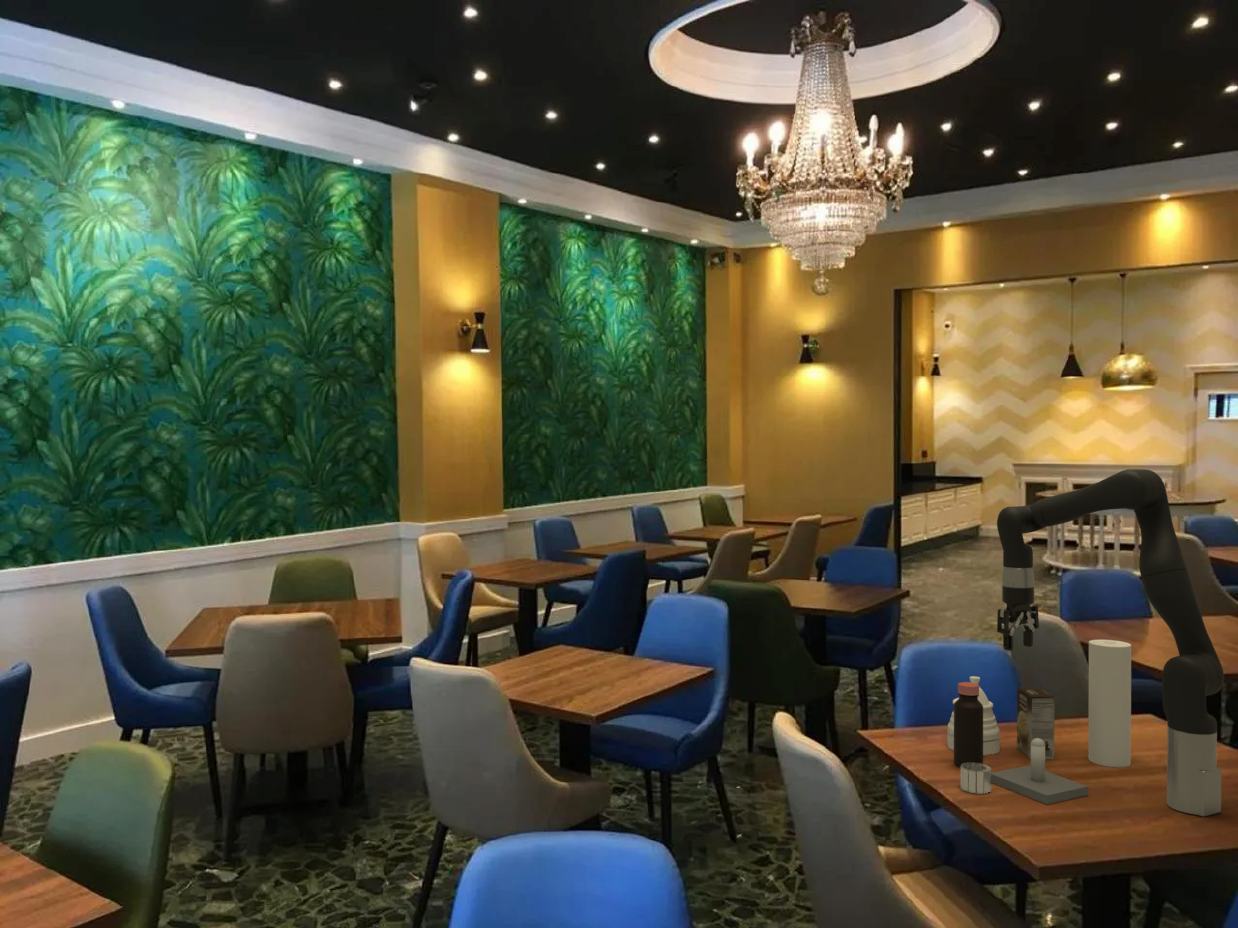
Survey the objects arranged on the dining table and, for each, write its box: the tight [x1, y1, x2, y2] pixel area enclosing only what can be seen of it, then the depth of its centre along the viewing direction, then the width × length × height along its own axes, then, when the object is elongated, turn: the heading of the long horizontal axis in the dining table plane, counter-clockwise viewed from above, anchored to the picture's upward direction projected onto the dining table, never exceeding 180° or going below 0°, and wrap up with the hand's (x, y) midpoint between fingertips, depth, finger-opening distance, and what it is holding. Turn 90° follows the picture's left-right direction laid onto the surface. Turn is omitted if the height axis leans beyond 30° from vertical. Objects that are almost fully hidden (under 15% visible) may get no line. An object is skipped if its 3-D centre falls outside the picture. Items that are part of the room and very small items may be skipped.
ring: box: [960, 763, 992, 795], centre depth 218 cm, size 6×6×5 cm
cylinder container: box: [1087, 639, 1132, 768], centre depth 238 cm, size 9×9×30 cm
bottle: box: [953, 681, 984, 768], centre depth 235 cm, size 7×7×20 cm
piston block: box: [991, 738, 1089, 805], centre depth 219 cm, size 16×13×12 cm
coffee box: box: [1016, 687, 1056, 760], centre depth 243 cm, size 9×6×16 cm
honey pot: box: [946, 675, 1001, 756], centre depth 249 cm, size 13×13×18 cm
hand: (1018, 647), depth 243 cm, fingers open, 8 cm apart
